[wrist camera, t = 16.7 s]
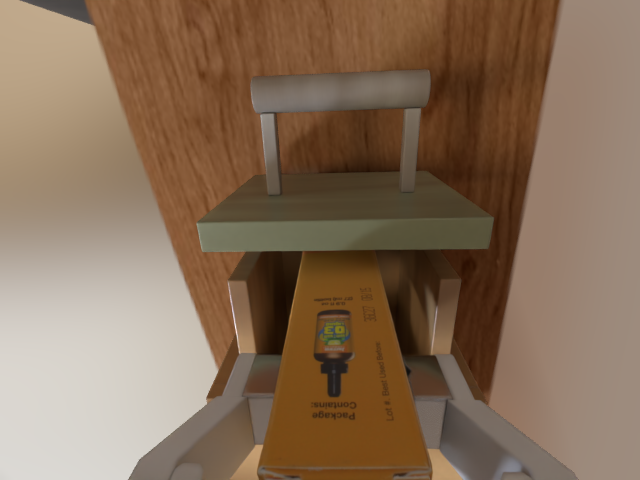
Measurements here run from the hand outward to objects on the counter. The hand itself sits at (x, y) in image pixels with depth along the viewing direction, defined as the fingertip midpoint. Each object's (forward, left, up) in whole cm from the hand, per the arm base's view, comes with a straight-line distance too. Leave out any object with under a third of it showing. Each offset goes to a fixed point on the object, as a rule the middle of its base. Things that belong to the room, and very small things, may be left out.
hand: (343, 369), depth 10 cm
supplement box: (0, 0, -6) cm, 6 cm away
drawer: (0, 0, -12) cm, 12 cm away
